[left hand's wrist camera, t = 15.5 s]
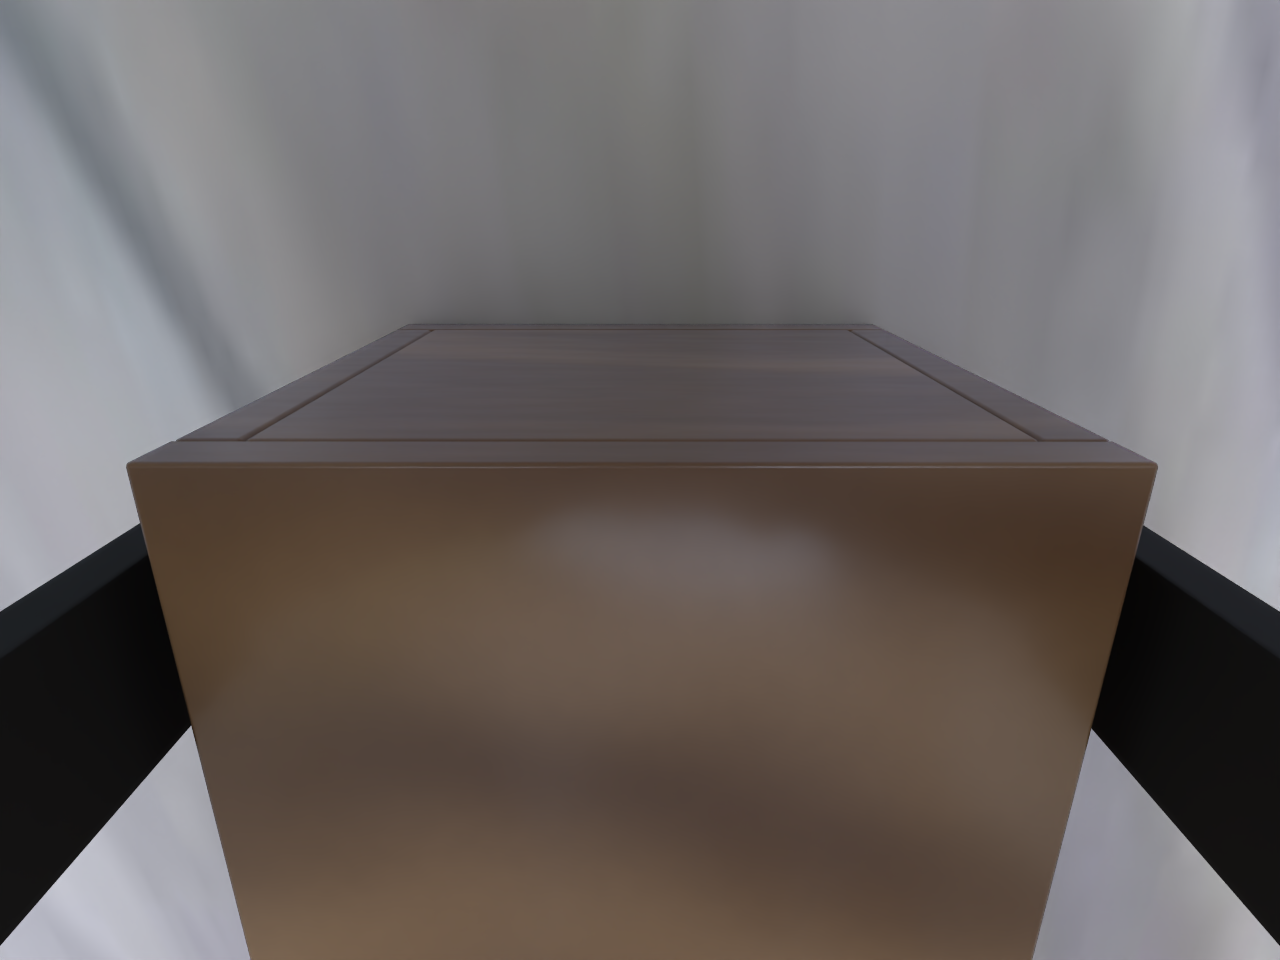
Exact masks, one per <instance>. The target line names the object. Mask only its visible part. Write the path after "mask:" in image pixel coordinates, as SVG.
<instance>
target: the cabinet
mask: <svg viewBox="0 0 1280 960" xmlns="http://www.w3.org/2000/svg"><path fill="white" fill-rule="evenodd" d="M126 469H127V473H128V476H129V480H130V484H131V488H132V492H133V496H134V500H135V504H136V508H137V512H138V516H139V520H140V524H141V528H142V532H143V536H144V540H145V544H146V548H147V552H148V556H149V559H150V563H151V567H152V571H153V575H154V579H155V583H156V587H157V591H158V595H159V599H160V603H161V607H162V611H163V615H164V619H165V623H166V627H167V631H168V635H169V639H170V643H171V646H172V650H173V654H174V658H175V662H176V666H177V670H178V674H179V678H180V682H181V686H182V690H183V694H184V698H185V702H186V706H187V710H188V714H189V718H190V722H191V726H192V729H193V733H194V737H195V741H196V745H197V749H198V753H199V757H200V761H201V765H202V769H203V773H204V777H205V781H206V785H207V789H208V793H209V797H210V801H211V805H212V809H213V813H214V816H215V820H216V824H217V828H218V832H219V836H220V840H221V844H222V848H223V852H224V856H225V860H226V864H227V868H228V872H229V876H230V880H231V884H232V888H233V892H234V896H235V899H236V903H237V907H238V911H239V915H240V919H241V923H242V927H243V931H244V935H245V939H246V943H247V947H248V951H249V955H250V959H251V960H1032V958H1033V954H1034V950H1035V946H1036V943H1037V939H1038V935H1039V931H1040V927H1041V923H1042V919H1043V915H1044V911H1045V907H1046V903H1047V900H1048V896H1049V892H1050V888H1051V884H1052V880H1053V876H1054V872H1055V868H1056V864H1057V860H1058V856H1059V853H1060V849H1061V845H1062V841H1063V837H1064V833H1065V829H1066V825H1067V821H1068V817H1069V813H1070V810H1071V806H1072V802H1073V798H1074V794H1075V790H1076V786H1077V782H1078V778H1079V774H1080V770H1081V767H1082V763H1083V759H1084V755H1085V751H1086V747H1087V743H1088V739H1089V735H1090V731H1091V727H1092V723H1093V720H1094V716H1095V712H1096V708H1097V704H1098V700H1099V696H1100V692H1101V688H1102V684H1103V680H1104V677H1105V673H1106V669H1107V665H1108V661H1109V657H1110V653H1111V649H1112V645H1113V641H1114V637H1115V634H1116V630H1117V626H1118V622H1119V618H1120V614H1121V610H1122V606H1123V602H1124V598H1125V594H1126V591H1127V587H1128V583H1129V579H1130V575H1131V571H1132V567H1133V563H1134V559H1135V555H1136V551H1137V547H1138V544H1139V540H1140V536H1141V532H1142V528H1143V524H1144V520H1145V516H1146V512H1147V508H1148V504H1149V501H1150V497H1151V493H1152V489H1153V485H1154V481H1155V477H1156V473H1157V469H1158V466H1157V464H1156V463H1155V462H1153V461H1151V460H1149V459H1147V458H1145V457H1143V456H1141V455H1139V454H1137V453H1135V452H1133V451H1130V450H1128V449H1126V448H1124V447H1122V446H1120V445H1118V444H1116V443H1114V442H1109V441H1108V440H1107V439H1105V438H1103V437H1101V436H1099V435H1097V434H1095V433H1093V432H1091V431H1089V430H1087V429H1085V428H1083V427H1081V426H1079V425H1076V424H1074V423H1072V422H1070V421H1068V420H1066V419H1064V418H1062V417H1060V416H1058V415H1056V414H1054V413H1052V412H1050V411H1048V410H1046V409H1044V408H1042V407H1040V406H1038V405H1036V404H1034V403H1032V402H1030V401H1028V400H1026V399H1024V398H1022V397H1020V396H1018V395H1016V394H1013V393H1011V392H1009V391H1007V390H1005V389H1003V388H1001V387H999V386H997V385H995V384H993V383H991V382H989V381H987V380H985V379H983V378H981V377H979V376H977V375H975V374H973V373H971V372H969V371H967V370H965V369H963V368H961V367H959V366H957V365H955V364H952V363H950V362H948V361H946V360H944V359H942V358H940V357H938V356H936V355H934V354H932V353H930V352H928V351H926V350H924V349H922V348H920V347H918V346H916V345H914V344H912V343H910V342H908V341H906V340H904V339H902V338H900V337H898V336H896V335H894V334H892V333H889V332H887V331H885V330H883V329H881V328H879V327H877V326H875V325H599V324H409V325H406V326H404V327H402V328H400V329H398V330H397V331H395V332H393V333H391V334H389V335H387V336H385V337H383V338H381V339H379V340H377V341H375V342H373V343H371V344H369V345H367V346H365V347H363V348H361V349H359V350H356V351H354V352H352V353H350V354H348V355H346V356H344V357H342V358H340V359H338V360H336V361H334V362H332V363H330V364H328V365H326V366H324V367H322V368H320V369H318V370H316V371H314V372H312V373H310V374H308V375H306V376H304V377H302V378H300V379H298V380H296V381H294V382H292V383H290V384H288V385H286V386H284V387H282V388H280V389H278V390H276V391H274V392H272V393H270V394H268V395H266V396H264V397H262V398H260V399H258V400H256V401H254V402H252V403H250V404H248V405H246V406H244V407H242V408H240V409H238V410H236V411H234V412H232V413H230V414H228V415H226V416H224V417H222V418H220V419H218V420H216V421H214V422H212V423H210V424H208V425H206V426H204V427H202V428H199V429H197V430H195V431H193V432H191V433H189V434H187V435H185V436H183V437H181V438H179V439H177V440H176V441H171V442H169V443H167V444H165V445H163V446H161V447H159V448H157V449H155V450H153V451H151V452H149V453H147V454H145V455H143V456H141V457H139V458H137V459H135V460H133V461H131V462H129V463H127V466H126Z"/></svg>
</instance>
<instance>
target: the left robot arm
mask: <svg viewBox="0 0 1280 960" xmlns="http://www.w3.org/2000/svg"><path fill="white" fill-rule="evenodd" d="M190 726H191V722H190V718H189V714H188V710H187V706H186V702H185V698H184V694H183V690H182V686H181V682H180V678H179V674H178V670H177V666H176V662H175V658H174V654H173V650H172V646H171V643H170V639H169V635H168V631H167V627H166V623H165V619H164V615H163V611H162V607H161V603H160V599H159V595H158V591H157V587H156V583H155V579H154V575H153V571H152V567H151V563H150V559H149V556H148V552H147V548H146V544H145V540H144V536H143V532H142V528H141V524H138V525H137V526H135V527H133V528H132V529H130V530H129V531H127V532H125V533H124V534H122V535H121V536H119V537H118V538H116V539H114V540H113V541H111V542H110V543H108V544H107V545H105V546H103V547H102V548H100V549H99V550H97V551H95V552H94V553H92V554H91V555H89V556H88V557H86V558H84V559H83V560H81V561H80V562H78V563H77V564H75V565H73V566H72V567H70V568H69V569H67V570H65V571H64V572H62V573H61V574H59V575H58V576H56V577H54V578H53V579H51V580H50V581H48V582H46V583H45V584H43V585H42V586H40V587H39V588H37V589H35V590H34V591H32V592H31V593H29V594H28V595H26V596H24V597H23V598H21V599H20V600H18V601H16V602H15V603H13V604H12V605H10V606H9V607H7V608H5V609H4V610H2V611H1V612H0V945H1V944H2V943H3V942H4V941H5V940H6V938H7V937H8V936H9V935H10V934H11V933H12V931H13V930H14V929H15V928H16V927H17V926H18V925H19V923H20V922H21V921H22V920H23V919H24V918H25V916H26V915H27V914H28V913H29V912H30V911H31V910H32V908H33V907H34V906H35V905H36V904H37V903H38V901H39V900H40V899H41V898H42V897H43V896H44V895H45V893H46V892H47V891H48V890H49V889H50V888H51V886H52V885H53V884H54V883H55V882H56V881H57V880H58V878H59V877H60V876H61V875H62V874H63V873H64V871H65V870H66V869H67V868H68V867H69V866H70V864H71V863H72V862H73V861H74V860H75V859H76V858H77V856H78V855H79V854H80V853H81V852H82V851H83V849H84V848H85V847H86V846H87V845H88V844H89V843H90V841H91V840H92V839H93V838H94V837H95V836H96V834H97V833H98V832H99V831H100V830H101V829H102V828H103V826H104V825H105V824H106V823H107V822H108V821H109V819H110V818H111V817H112V816H113V815H114V814H115V813H116V811H117V810H118V809H119V808H120V807H121V806H122V804H123V803H124V802H125V801H126V800H127V799H128V798H129V796H130V795H131V794H132V793H133V792H134V791H135V789H136V788H137V787H138V786H139V785H140V784H141V783H142V781H143V780H144V779H145V778H146V777H147V776H148V774H149V773H150V772H151V771H152V770H153V769H154V767H155V766H156V765H157V764H158V763H159V762H160V761H161V759H162V758H163V757H164V756H165V755H166V754H167V752H168V751H169V750H170V749H171V748H172V747H173V746H174V744H175V743H176V742H177V741H178V740H179V739H180V737H181V736H182V735H183V734H184V733H185V732H186V731H187V729H188V728H189V727H190ZM1091 728H1092V729H1093V731H1094V732H1095V733H1096V734H1097V735H1098V736H1099V737H1100V739H1101V740H1102V741H1103V742H1104V743H1105V744H1106V746H1107V747H1108V748H1109V749H1110V750H1111V751H1112V752H1113V754H1114V755H1115V756H1116V757H1117V758H1118V759H1119V761H1120V762H1121V763H1122V764H1123V765H1124V766H1125V767H1126V769H1127V770H1128V771H1129V772H1130V773H1131V774H1132V776H1133V777H1134V778H1135V779H1136V780H1137V781H1138V783H1139V784H1140V785H1141V786H1142V787H1143V788H1144V789H1145V791H1146V792H1147V793H1148V794H1149V795H1150V796H1151V798H1152V799H1153V800H1154V801H1155V802H1156V803H1157V804H1158V806H1159V807H1160V808H1161V809H1162V810H1163V811H1164V813H1165V814H1166V815H1167V816H1168V817H1169V818H1170V819H1171V821H1172V822H1173V823H1174V824H1175V825H1176V826H1177V828H1178V829H1179V830H1180V831H1181V832H1182V833H1183V834H1184V836H1185V837H1186V838H1187V839H1188V840H1189V841H1190V843H1191V844H1192V845H1193V846H1194V847H1195V848H1196V849H1197V851H1198V852H1199V853H1200V854H1201V855H1202V856H1203V858H1204V859H1205V860H1206V861H1207V862H1208V863H1209V864H1210V866H1211V867H1212V868H1213V869H1214V870H1215V871H1216V873H1217V874H1218V875H1219V876H1220V877H1221V878H1222V880H1223V881H1224V882H1225V883H1226V884H1227V885H1228V886H1229V888H1230V889H1231V890H1232V891H1233V892H1234V893H1235V895H1236V896H1237V897H1238V898H1239V899H1240V900H1241V901H1242V903H1243V904H1244V905H1245V906H1246V907H1247V908H1248V910H1249V911H1250V912H1251V913H1252V914H1253V915H1254V916H1255V918H1256V919H1257V920H1258V921H1259V922H1260V923H1261V925H1262V926H1263V927H1264V928H1265V929H1266V930H1267V931H1268V933H1269V934H1270V935H1271V936H1272V937H1273V938H1274V940H1275V941H1276V942H1277V943H1278V944H1279V945H1280V612H1279V611H1278V610H1276V609H1275V608H1273V607H1271V606H1270V605H1268V604H1267V603H1265V602H1264V601H1262V600H1260V599H1259V598H1257V597H1256V596H1254V595H1252V594H1251V593H1249V592H1248V591H1246V590H1245V589H1243V588H1241V587H1240V586H1238V585H1237V584H1235V583H1234V582H1232V581H1230V580H1229V579H1227V578H1226V577H1224V576H1222V575H1221V574H1219V573H1218V572H1216V571H1215V570H1213V569H1211V568H1210V567H1208V566H1207V565H1205V564H1203V563H1202V562H1200V561H1199V560H1197V559H1196V558H1194V557H1192V556H1191V555H1189V554H1188V553H1186V552H1185V551H1183V550H1181V549H1180V548H1178V547H1177V546H1175V545H1173V544H1172V543H1170V542H1169V541H1167V540H1166V539H1164V538H1162V537H1161V536H1159V535H1158V534H1156V533H1155V532H1153V531H1151V530H1150V529H1148V528H1147V527H1145V526H1143V528H1142V532H1141V536H1140V540H1139V544H1138V547H1137V551H1136V555H1135V559H1134V563H1133V567H1132V571H1131V575H1130V579H1129V583H1128V587H1127V591H1126V594H1125V598H1124V602H1123V606H1122V610H1121V614H1120V618H1119V622H1118V626H1117V630H1116V634H1115V637H1114V641H1113V645H1112V649H1111V653H1110V657H1109V661H1108V665H1107V669H1106V673H1105V677H1104V680H1103V684H1102V688H1101V692H1100V696H1099V700H1098V704H1097V708H1096V712H1095V716H1094V720H1093V723H1092V727H1091Z"/></svg>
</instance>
